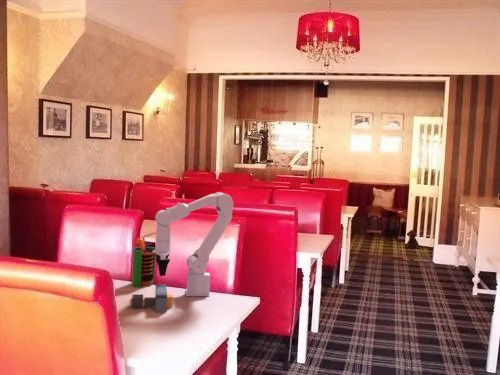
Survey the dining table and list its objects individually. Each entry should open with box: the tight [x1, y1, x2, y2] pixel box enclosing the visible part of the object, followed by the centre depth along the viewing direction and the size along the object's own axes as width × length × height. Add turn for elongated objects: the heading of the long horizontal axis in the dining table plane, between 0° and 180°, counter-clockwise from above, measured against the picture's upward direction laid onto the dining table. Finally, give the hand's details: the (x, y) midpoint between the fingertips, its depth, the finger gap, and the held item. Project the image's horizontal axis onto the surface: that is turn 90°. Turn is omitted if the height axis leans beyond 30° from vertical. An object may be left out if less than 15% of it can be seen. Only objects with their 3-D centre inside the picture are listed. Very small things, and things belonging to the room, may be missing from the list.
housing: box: [154, 283, 168, 313], centre depth 183 cm, size 4×14×6 cm, turn 11°
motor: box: [131, 237, 156, 288], centre depth 210 cm, size 10×9×20 cm
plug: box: [129, 293, 174, 310], centre depth 182 cm, size 16×4×4 cm, turn 101°
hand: (162, 273), depth 195 cm, fingers open, 7 cm apart
